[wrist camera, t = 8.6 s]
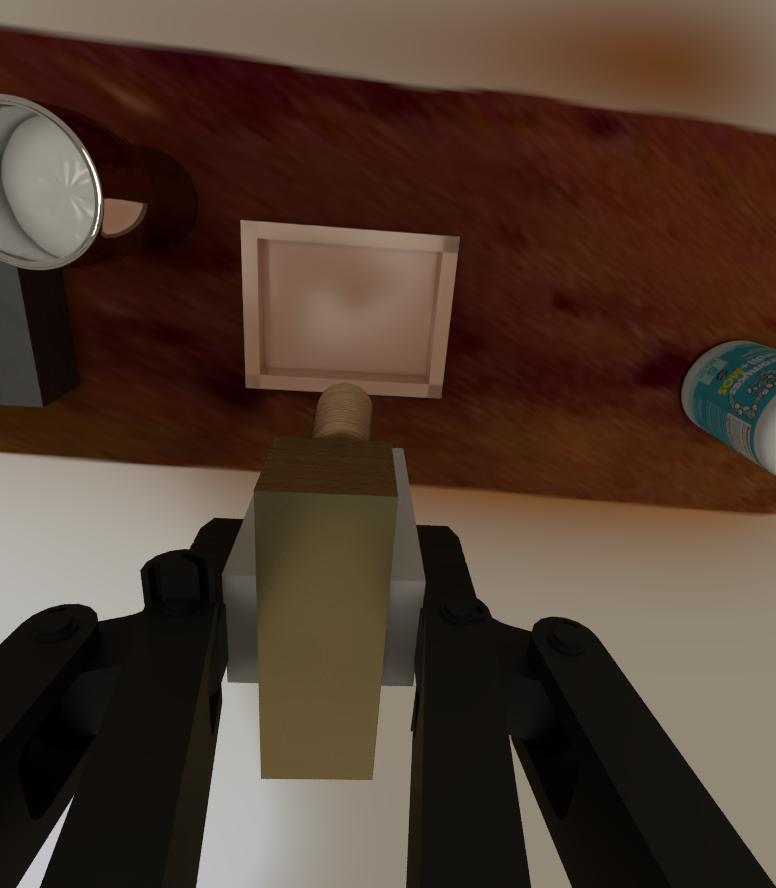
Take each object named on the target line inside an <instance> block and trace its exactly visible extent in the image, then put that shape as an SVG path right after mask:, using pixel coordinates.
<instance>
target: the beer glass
mask: <svg viewBox="0 0 776 888" xmlns="http://www.w3.org/2000/svg"><path fill="white" fill-rule="evenodd" d="M196 210H197V201H196V194H195V190H194V187H193V184H192V182H191V180H190V178H189V176H188V175H187V173H186V172H185V170H184V169H183V168H182V166H181V165H180V164H179V163H178V162H177V161H176V160H175V159H173V158H172V157H171V156H169V155H168V154H166V153H164V152H162V151H160V150H157V149H154V148H150V147H144V146H136V147H135V146H134V145H132V144H131V143H130V142H129V141H128V140H127V139H125V138H124V137H123V136H121V135H120V134H118V133H117V132H116V131H114V130H113V129H111V128H110V127H108V126H107V125H105V124H103V123H101V122H99V121H97V120H95V119H93V118H91V117H88V116H86V115H84V114H82V113H79V112H76V111H73V110H70V109H67V108H64V107H60V106H57V105H53V104H48V103H43V102H39V101H33V100H28V99H25V98H22V97H18V96H14V95H8V94H0V261H2V262H4V263H7V264H9V265H12V266H15V267H19V268H23V269H28V270H51V269H81V268H89V267H97V266H101V265H105V264H109V263H113V262H116V261H119V260H121V259H123V258H125V257H127V256H129V255H130V254H132V253H134V252H136V251H137V250H139V249H140V248H141V247H142V246H147V247H166V246H170V245H172V244H175V243H177V242H178V241H180V240H181V239H182V238H183V237H184V236H185V235H186V234H187V233H188V232H189V230H190V229H191V227H192V225H193V223H194V220H195V216H196Z"/></svg>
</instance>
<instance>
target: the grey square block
mask: <svg viewBox="0 0 776 888" xmlns="http://www.w3.org/2000/svg"><path fill="white" fill-rule="evenodd" d="M78 386H79V381H78V375H77V368H76V362H75V355H74V349H73V343H72V336H71V330H70V323H69V317H68V311H67V304H66V298H65V291H64V285H63V279H62V272H61V269H51V270H28V269H23V268H19V267H15V266H12V265H9V264H7V263H4V262H2V261H0V405H9V406H28V407H44V406H46V405H48V404H49V403H51V402H53V401H54V400H56V399H58V398H59V397H61V396H63V395H64V394H66V393H68V392H69V391H71V390H73V389H74V388H76V387H78Z"/></svg>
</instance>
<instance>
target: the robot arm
mask: <svg viewBox="0 0 776 888" xmlns="http://www.w3.org/2000/svg"><path fill="white" fill-rule="evenodd" d="M392 451H393V459H394V467H395V475H396V483H397V491H398V505H397V516H396V527H395V538H394V549H393V560H392V571H391V582H390V593H389V604H388V615H387V625H386V636H385V647H384V658H383V669H382V680H381V686H382V685H383V686H384V685H385V686H413V681H414V673H415V677H416V692H415V700H414V708H413V716H412V724H411V731H413V739H412V763H411V764H412V765H411V787H410V810H409V834H408V858H407V859H408V860H407V882H406V888H531V883H530V876H529V869H528V862H527V856H526V849H525V842H524V835H523V828H522V822H521V814H520V808H519V801H518V795H517V787H516V780H515V773H514V767H513V761H512V753H511V746H510V740H509V735H511V739H512V742H513V745H514V747H515V750H516V752H517V755H518V757H519V759H520V762H521V764H522V767H523V769H524V772H525V774H526V776H527V779H528V781H529V784H530V786H531V789H532V791H533V793H534V796H535V798H536V801H537V803H538V806H539V808H540V810H541V813H542V815H543V818H544V820H545V823H546V825H547V828H548V830H549V832H550V835H551V837H552V840H553V842H554V845H555V847H556V849H557V851H558V854H559V857H560V859H561V862H562V864H563V866H564V869H565V871H566V874H567V876H568V879H569V881H570V883H571V885H572V888H776V886H775V885H774V884H773V882H772V881H771V879H770V878H769V877H768V875H767V874H766V872H765V871H764V870H763V868H762V867H761V865H760V864H759V863H758V861H757V860H756V858H755V857H754V856H753V854H752V853H751V851H750V850H749V849H748V847H747V846H746V844H745V843H744V842H743V840H742V839H741V837H740V836H739V835H738V833H737V832H736V830H735V829H734V828H733V826H732V825H731V823H730V822H729V821H728V819H727V818H726V816H725V815H724V814H723V812H722V811H721V809H720V808H719V807H718V805H717V804H716V803H715V801H714V800H713V798H712V797H711V795H710V794H709V793H708V791H707V790H706V788H705V787H704V786H703V784H702V783H701V782H700V780H699V779H698V777H697V776H696V774H695V773H694V772H693V770H692V769H691V767H690V766H689V765H688V763H687V762H686V760H685V759H684V758H683V756H682V755H681V753H680V752H679V751H678V749H677V748H676V746H675V745H674V744H673V742H672V741H671V739H670V738H669V737H668V735H667V734H666V732H665V731H664V730H663V728H662V727H661V726H660V724H659V723H658V721H657V720H656V718H655V717H654V716H653V714H652V713H651V711H650V710H649V709H648V707H647V706H646V704H645V703H644V702H643V700H642V699H641V697H640V696H639V695H638V693H637V692H636V690H635V689H634V688H633V686H632V685H631V683H630V682H629V681H628V679H627V678H626V676H625V675H624V674H623V672H622V671H621V669H620V668H619V667H618V665H617V664H616V662H615V661H614V660H613V658H612V657H611V655H610V654H609V653H608V651H607V650H606V648H605V647H604V646H603V644H602V643H601V641H600V640H599V639H598V638H597V637H596V635H595V634H594V633H593V632H592V631H591V630H590V629H588V628H587V627H585V626H583V625H581V624H580V623H578V622H576V621H573V620H570V619H567V618H562V617H548V618H543V619H540V620H539V621H538V622H537V623H535V624H534V626H533V630H532V632H531V631H527V630H523V629H520V628H516V627H513V626H509V625H507V624H504V623H501V622H499V621H497V620H496V619H494V618H492V616H491V614H490V612H489V609H488V607H487V606H486V605H485V604H484V603H483V602H482V601H480V600H479V599H477V597H476V594H475V591H474V587H473V584H472V581H471V577H470V575H469V571H468V567H467V564H466V563H465V557H464V554H463V552H462V547H461V544H460V540H459V537H458V536H457V535H456V534H455V533H454V532H453V531H452V530H451V529H450V528H449V527H448V526H430V525H416V522H415V516H414V510H413V505H412V499H411V492H410V486H409V481H408V475H407V469H406V463H405V457H404V451H403V448H392ZM140 572H141V580H142V587H143V596H144V604H145V607H144V610H143V611H141V612H139V613H136V614H133V615H129V616H125V617H120V618H115V619H109V620H104V621H98V618H97V613H96V612H95V611H94V610H93V609H91V608H90V607H88V606H84V605H80V604H64V605H59V606H55V607H51V608H48V609H46V610H43V611H41V612H39V613H37V614H35V615H33V616H31V617H30V618H29V619H27V620H26V621H25V622H23V623H22V624H21V625H20V626H19V627H18V628H17V629H16V630H15V631H13V632H12V633H11V635H9V636H8V637H7V638H6V639H5V640H4V641H3V642H2V643H1V644H0V888H16V887H17V885H18V884H19V882H20V881H21V879H22V877H23V876H24V874H25V872H26V871H27V869H28V868H29V866H30V865H31V863H32V862H33V860H34V858H35V857H36V855H37V853H38V852H39V850H40V849H41V847H42V845H43V844H44V842H45V841H46V839H47V838H48V836H49V834H50V833H51V831H52V830H53V828H54V826H55V825H56V823H57V822H58V820H59V818H60V817H61V815H62V814H63V812H64V810H65V809H66V807H67V806H68V804H69V802H70V801H71V799H72V798H73V800H72V803H71V805H70V808H69V811H68V813H67V817H66V819H65V822H64V824H63V827H62V829H61V832H60V835H59V837H58V841H57V843H56V846H55V848H54V851H53V854H52V857H51V859H50V862H49V864H48V867H47V870H46V872H45V876H44V878H43V880H42V883H41V886H40V888H196V883H197V876H198V869H199V862H200V855H201V848H202V841H203V833H204V827H205V820H206V813H207V806H208V799H209V791H210V784H211V778H212V770H213V763H214V756H215V749H216V742H217V735H218V727H219V721H220V714H221V707H222V688H221V682H222V679H223V676H224V673H225V669H226V666H227V677H228V682H239V683H259V678H258V639H257V600H256V562H255V523H254V495H253V498H252V500H251V503H250V505H249V508H248V510H247V513H246V515H245V518H244V519H227V518H214V519H212V520H211V521H210V522H208V523H207V524H206V525H204V526H203V527H202V528H201V529H200V530H199V532H198V534H197V536H196V538H195V540H194V543H193V544H192V545H191V547H190V549H189V550H187V549H183V550H174V551H169V552H166V553H163V554H160V555H157V556H156V557H154V558H153V559H151V560H149V561H148V562H146V564H145V565H144V566H143V568H142V569H141V570H140ZM74 794H75V795H74ZM73 796H74V797H73Z"/></svg>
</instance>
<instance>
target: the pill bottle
mask: <svg viewBox="0 0 776 888" xmlns="http://www.w3.org/2000/svg"><path fill="white" fill-rule="evenodd" d="M681 400H682V405H683V408H684V411H685V413H686V415H687V416H688V417H689V419H690V420H691V421H692V422H693V423H695V424H696V425H697V426H699V427H700V428H702V429H703V430H705V431H706V432H708V433H710V434H711V435H713V436H714V437H716V438H717V439H719V440H721V441H722V442H724V443H725V444H727V445H728V446H730V447H732V448H733V449H735V450H736V451H738V452H739V453H741V454H743V455H744V456H746V457H747V458H749V459H750V460H752V461H754V462H755V463H757V464H758V465H760V466H761V467H763V468H765V469H766V470H768V471H769V472H771V473H773V474H774V475H776V349H774V348H770V347H768V346H764V345H761V344H758V343H754V342H750V341H731V342H726V343H723V344H720V345H718V346H716V347H714V348H712V349H710V350H709V351H707V352H706V353H704V354H703V355H702V356H701V357H700V358H699V359H697V360H696V362H695V363H694V364H693V365H692V367H691V368H690V369H689V371H688V373H687V375H686V377H685V379H684V382H683V385H682V391H681Z"/></svg>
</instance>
